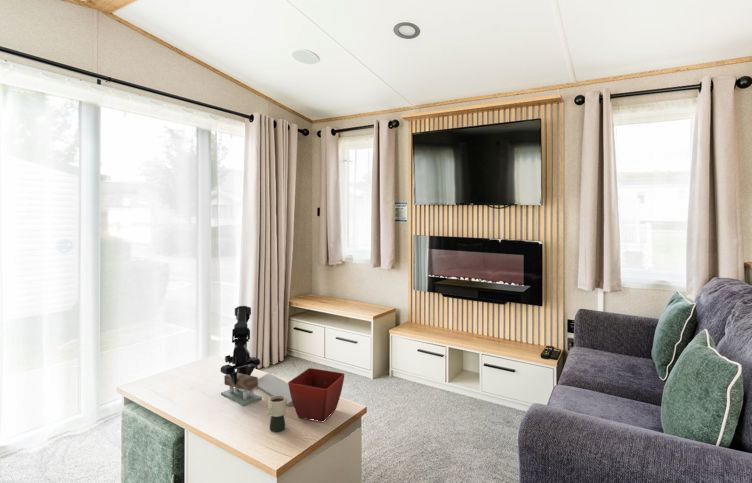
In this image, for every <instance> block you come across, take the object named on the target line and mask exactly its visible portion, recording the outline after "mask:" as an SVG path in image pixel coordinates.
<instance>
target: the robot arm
mask: <svg viewBox="0 0 752 483" xmlns="http://www.w3.org/2000/svg"><path fill="white" fill-rule="evenodd" d="M251 316H252V308H251V307H250V306H248V305H239V306H237V307H235V308H234V317H236V323H235V324H234V326H233V328H232V334H231V335H232V336H231V344H232V343H233V344H234V347H233V352H232V356H231V355H230V354H229V355H225V356H224V361H225V363H228V364H226V365H222V366H221V367H220V373H222V374H224V375H228V374H229V375H230V376H231V378H232V381H233V383H234V385H236V380H237V373H241V374H246V375H250V376H252V373H253V371H255V368H256V367H257V366H260V365H261V359H260V358H257V357H254V356H252V357H251V353H250V351H249V350H248V342H249V340H250V339H251V330H250V327H248V322H249V321H250V318H251ZM231 364H232V365H231Z"/></svg>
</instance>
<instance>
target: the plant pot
mask: <svg viewBox="0 0 752 483" xmlns="http://www.w3.org/2000/svg"><path fill="white" fill-rule="evenodd" d="M344 381H345V373H344V372H339V371H332V370H326V369H324V370H323V369H318V368H312V367H309V368H307V369H305V370H304V371H302V372H301V373H299V374H298V375H297V376H295V377H294V378H292V379H291V380H289V381H288V382H287V383H288V384H289V390H290V395H291V398H292V402H293V405H292V406H293V408H294V410H295V412H296V415H297V418H299V417H300V418H299V419H303V418H307V419H314V420H318V421H324V420H325V419H326V418H327V417H328V416H329V415H330V414H331V413H332V412H333V411H334V410H335V409H336V410H337V408H338V404H339V401H340V397H341V394H342V390H343V386H344V385H343V384H344ZM336 410H335V411H336ZM335 411H334V412H335ZM334 412H333V413H334ZM333 413H332V414H333ZM332 414H331V415H332ZM331 415H330V416H331ZM330 416H329V417H330ZM329 417H328V418H329ZM328 418H327V419H328ZM307 419H306V420H307ZM327 419H326V420H327ZM326 420H325V421H326ZM325 421H324V422H325Z"/></svg>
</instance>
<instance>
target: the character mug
mask: <svg viewBox="0 0 752 483" xmlns="http://www.w3.org/2000/svg"><path fill="white" fill-rule="evenodd" d="M286 411H287V399H286V397H285V396H283V395H276V396H270V397H269V398H268V407H267V415H268V416H271V417H270V422H269V430H270V431H275V432H280V431H283V430H284V429H285V428H286V421H285V415H286V413H287V412H286Z"/></svg>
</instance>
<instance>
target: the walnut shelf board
mask: <svg viewBox="0 0 752 483" xmlns="http://www.w3.org/2000/svg"><path fill="white" fill-rule="evenodd" d="M223 379H224V380H223V383H224V385H225V386H228V387H229V386H232V387H234V388H235V387H236V388H240V389H244V390H248V391H250V390H252V389H253V390H254V389H255V388H258V387H257V386H258V379H259V378H258V377H257V376H254V375H246V374H241V373H237V380H236V385H234V383H233V381H232V378H231V376H230V375H229V374H228V375H226V374H224V378H223Z"/></svg>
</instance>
